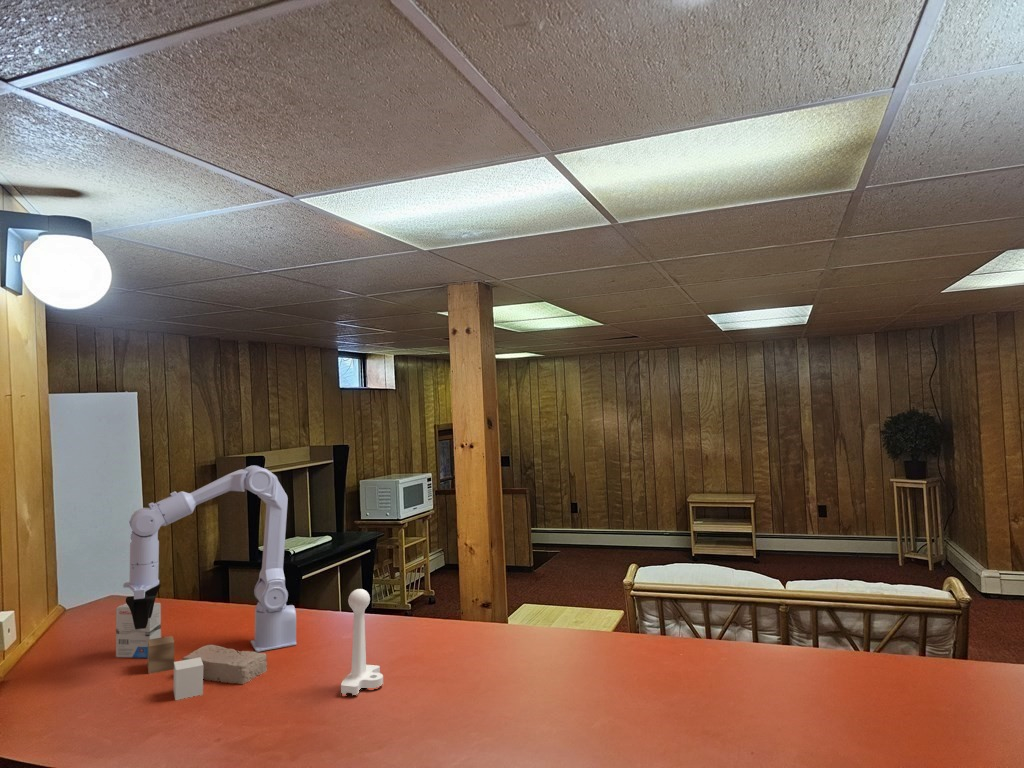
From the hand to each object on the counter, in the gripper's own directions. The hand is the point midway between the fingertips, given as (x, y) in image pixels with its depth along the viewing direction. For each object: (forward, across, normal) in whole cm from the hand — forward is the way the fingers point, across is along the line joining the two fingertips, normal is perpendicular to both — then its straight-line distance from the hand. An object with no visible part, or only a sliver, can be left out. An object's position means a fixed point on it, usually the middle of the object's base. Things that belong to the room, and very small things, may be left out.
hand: (143, 623), depth 148 cm
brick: (+10, +10, +17) cm, 23 cm away
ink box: (+10, -10, -2) cm, 14 cm away
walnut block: (+10, +1, +4) cm, 11 cm away
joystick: (+10, +29, +45) cm, 54 cm away
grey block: (+10, +18, +11) cm, 23 cm away
